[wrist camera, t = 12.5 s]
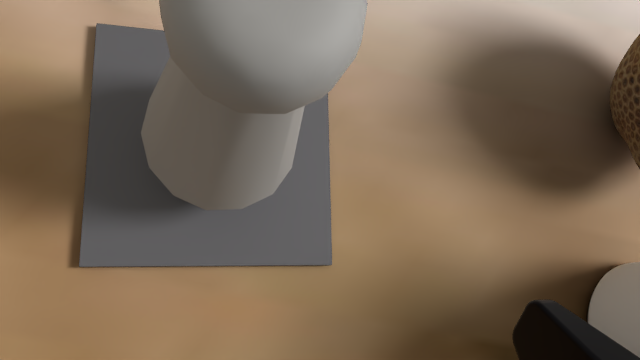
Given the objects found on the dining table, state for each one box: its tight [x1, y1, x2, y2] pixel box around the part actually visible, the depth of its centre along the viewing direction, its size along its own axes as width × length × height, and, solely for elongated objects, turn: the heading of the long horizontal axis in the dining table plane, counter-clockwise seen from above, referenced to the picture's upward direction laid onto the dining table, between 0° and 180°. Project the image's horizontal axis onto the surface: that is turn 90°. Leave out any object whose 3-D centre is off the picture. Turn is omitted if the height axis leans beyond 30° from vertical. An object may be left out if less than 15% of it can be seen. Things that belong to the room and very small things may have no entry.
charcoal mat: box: [79, 23, 332, 267], centre depth 23 cm, size 10×10×1 cm
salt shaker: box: [141, 0, 368, 210], centre depth 16 cm, size 6×6×13 cm
